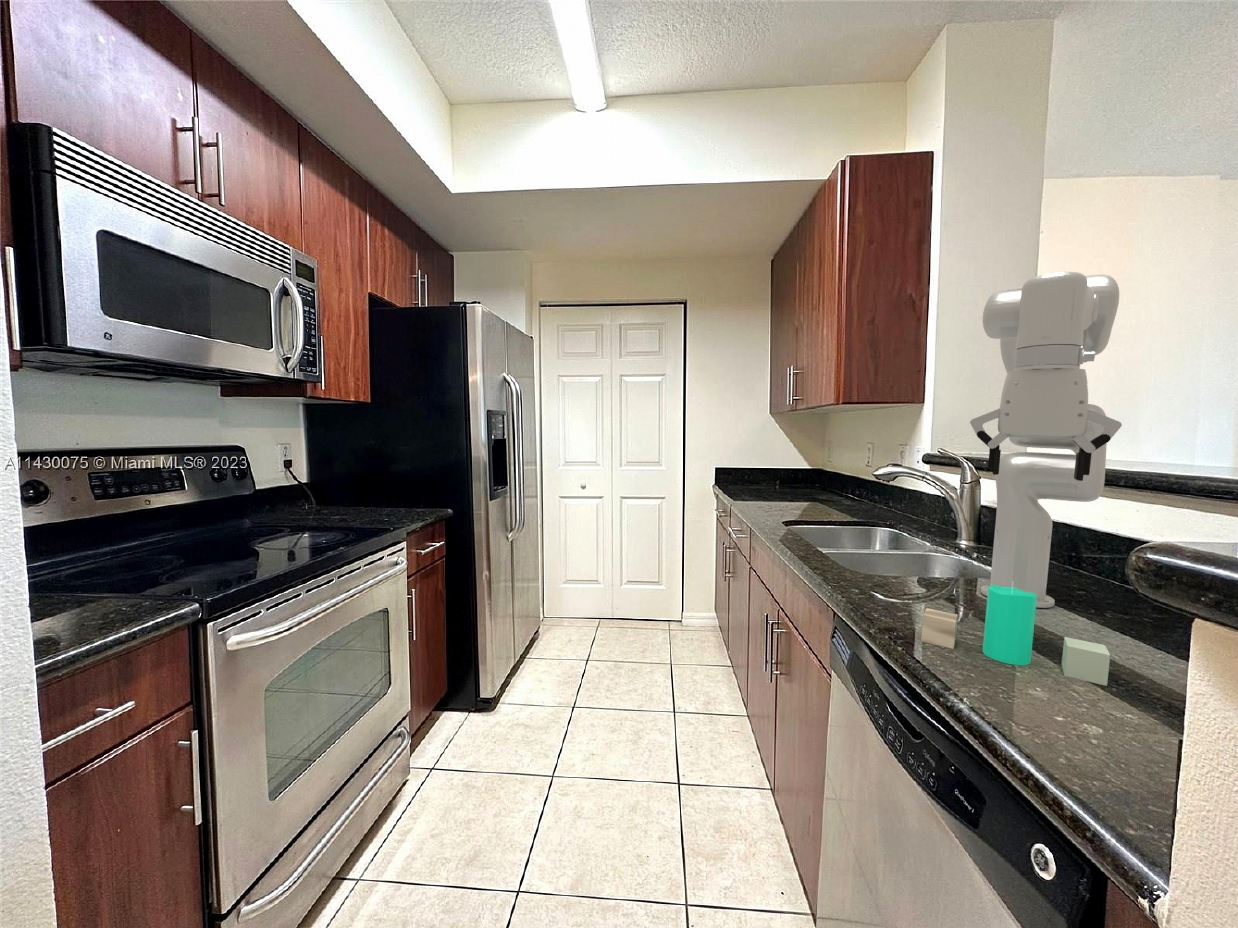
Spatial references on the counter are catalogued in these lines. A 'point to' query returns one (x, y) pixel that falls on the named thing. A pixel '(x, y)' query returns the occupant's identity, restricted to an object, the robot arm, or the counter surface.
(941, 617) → the birch block
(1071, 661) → the sage block
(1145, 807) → the counter surface
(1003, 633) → the candle
